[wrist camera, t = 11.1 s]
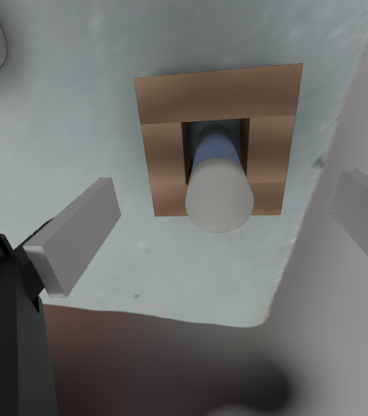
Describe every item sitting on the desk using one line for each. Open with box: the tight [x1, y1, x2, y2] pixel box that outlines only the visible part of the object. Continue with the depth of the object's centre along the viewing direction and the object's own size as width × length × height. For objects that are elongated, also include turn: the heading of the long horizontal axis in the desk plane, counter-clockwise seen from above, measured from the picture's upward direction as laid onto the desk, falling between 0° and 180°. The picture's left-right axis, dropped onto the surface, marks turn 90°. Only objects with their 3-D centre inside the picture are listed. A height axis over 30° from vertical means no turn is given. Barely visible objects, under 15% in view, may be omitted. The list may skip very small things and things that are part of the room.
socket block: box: [134, 63, 303, 216], centre depth 26 cm, size 14×14×7 cm
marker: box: [185, 124, 254, 233], centre depth 21 cm, size 4×4×18 cm
